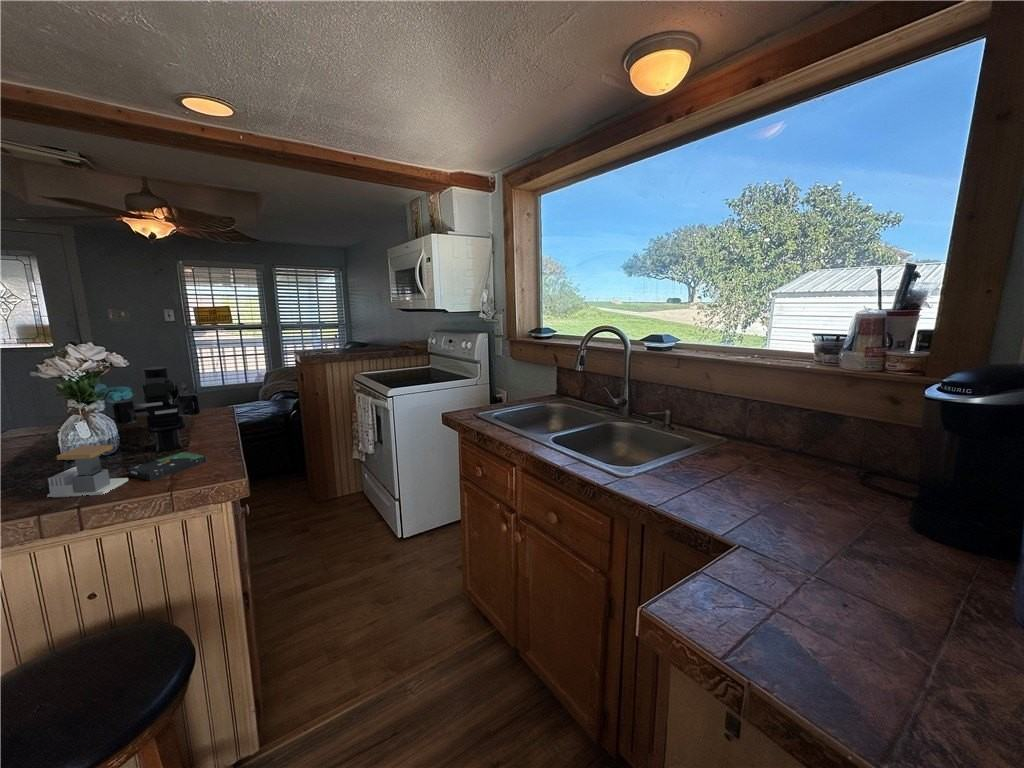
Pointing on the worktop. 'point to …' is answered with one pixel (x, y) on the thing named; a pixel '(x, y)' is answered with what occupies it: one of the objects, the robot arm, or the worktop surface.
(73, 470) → the heat sink board
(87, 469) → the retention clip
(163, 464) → the disk drive
